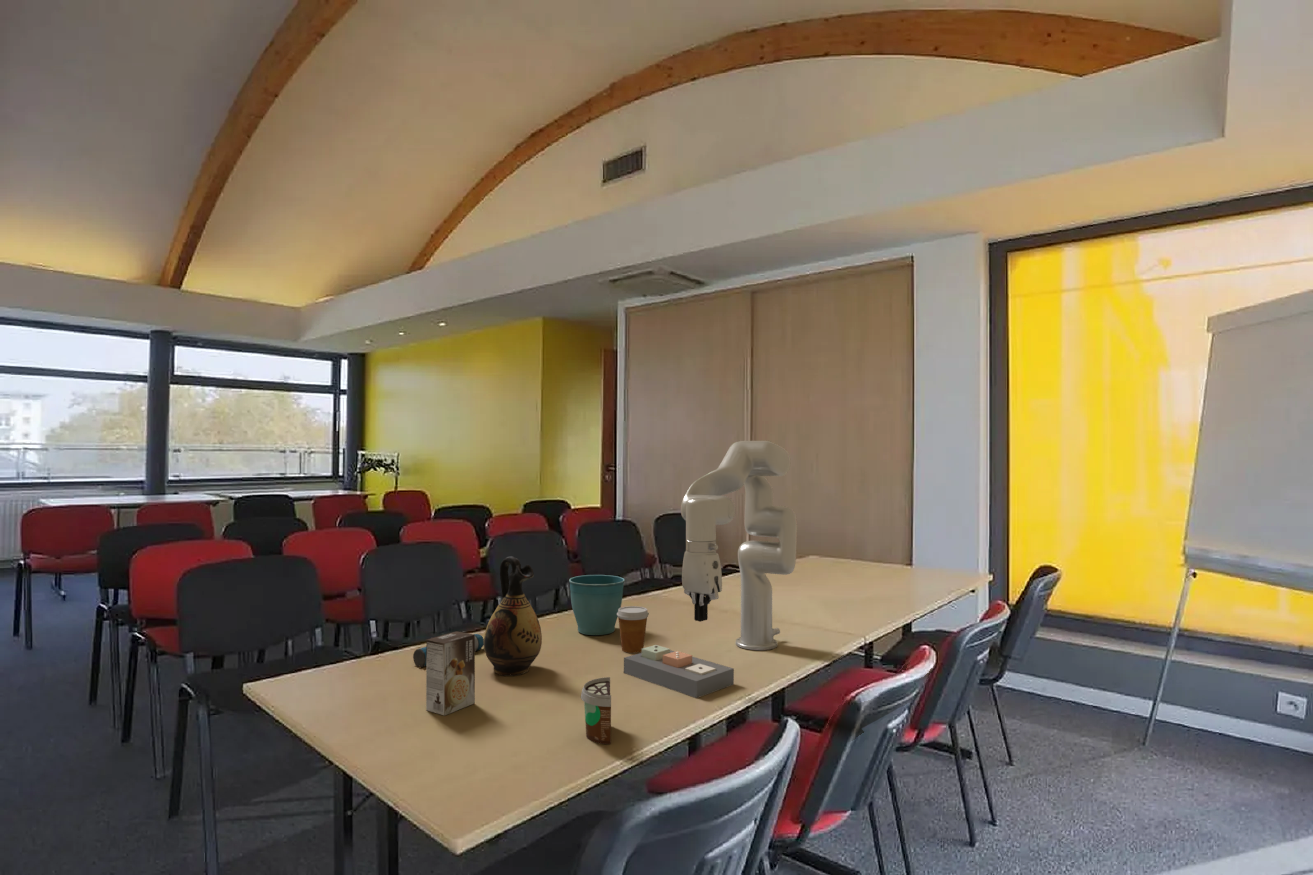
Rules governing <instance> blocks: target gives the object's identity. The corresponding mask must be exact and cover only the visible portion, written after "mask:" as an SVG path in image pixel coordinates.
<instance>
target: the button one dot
mask: <svg viewBox="0 0 1313 875" xmlns="http://www.w3.org/2000/svg"><path fill="white" fill-rule="evenodd" d="M685 671H689V672H692V673H695V674H698V675H704V674H707V673H710V672H713V671H716V668H713V667H709V666H706V665H702V664H697V665H694V666H691V667H687V668H685Z"/></svg>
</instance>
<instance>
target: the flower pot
mask: <svg viewBox="0 0 1313 875" xmlns="http://www.w3.org/2000/svg"><path fill="white" fill-rule="evenodd" d="M568 582H569V588H570V589H569V590H570V602H571V608H572V612H573V615H574V618H575V621H576V625H577V631H578V633H580V634H582V635H587V636H588V635H589V636H603V635H609V634H612V633H614V632H615V630H616V623H617V620H618V616H617V613H618V609H619V608H622V605H623V604H622V603H623V593H624V585H625V578H623V577H620V576H616V575H605V574H586V575H578V576H574V577H570V578H569V580H568Z"/></svg>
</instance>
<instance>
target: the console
mask: <svg viewBox="0 0 1313 875" xmlns="http://www.w3.org/2000/svg"><path fill="white" fill-rule="evenodd" d="M672 652H675V650H671V649H670V653H672ZM697 664H702V665H706V666H709V667H713V668H716V671H713V672H710V673H707V674H704V675H698V674H695V673H692V672H689V671H685V668H687V667H691V666H694V665H697ZM734 669H735V668H733V667H729V666H726V665H722V664H718V663H716V662H712V661H709V660H706V659H702V658H699V657H695V656H692V664H689V665H686V666H683V667H680V668H676V667H673V666H669V665H666V664H663V659H661V660H658V661H654V660H650V659H647V658H644V657H642V652H638V653H635V654H632V655H628V656H625V657H623V674H625V675H628V676H632V677H634V678H637V679H640V680H643V681H646V682H648V683H652V684H655V685H658V686H660V687H662V688H663V687H664V688H666V689H669V690H672V691H675V692H678V693H681V694H683V695H686V696H689V697H693V698H695V699H697V698H701V697H703V696H706V695H708V694H713V692H717V691H720V690H722V689H726V688H729V687H731V686H733V685H734V684H735V677H734V676H735V674H734V673H735V672H734V671H735V670H734Z"/></svg>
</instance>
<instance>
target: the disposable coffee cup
mask: <svg viewBox="0 0 1313 875" xmlns="http://www.w3.org/2000/svg"><path fill="white" fill-rule="evenodd" d="M649 613H650V612H648V608H646V607H643V606H638V605H637V606H635V605H634V606H633V605H632V606H631V605H630V606H623V607H622V606H621V608H619V609H618V613H617V616H618V617H617V620H618V628H619V636H620V642H621V643H620V644H621V645H620V646H621V652H623V653H628V654H639V653H642V649H643V648H645V647H644V644H645V638H646V630H647V629H646V628H647V622H648V618H649V615H650V614H649Z"/></svg>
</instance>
